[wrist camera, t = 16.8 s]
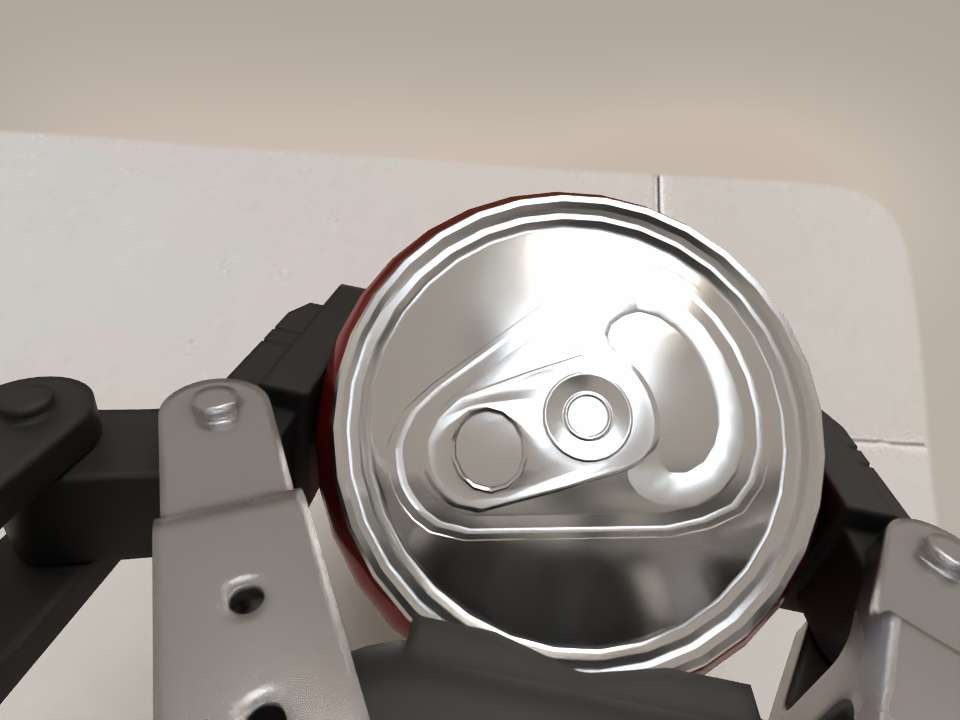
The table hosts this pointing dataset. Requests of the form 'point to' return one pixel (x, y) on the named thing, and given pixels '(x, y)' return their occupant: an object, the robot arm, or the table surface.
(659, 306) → the soda can
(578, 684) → the robot arm
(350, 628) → the table surface
